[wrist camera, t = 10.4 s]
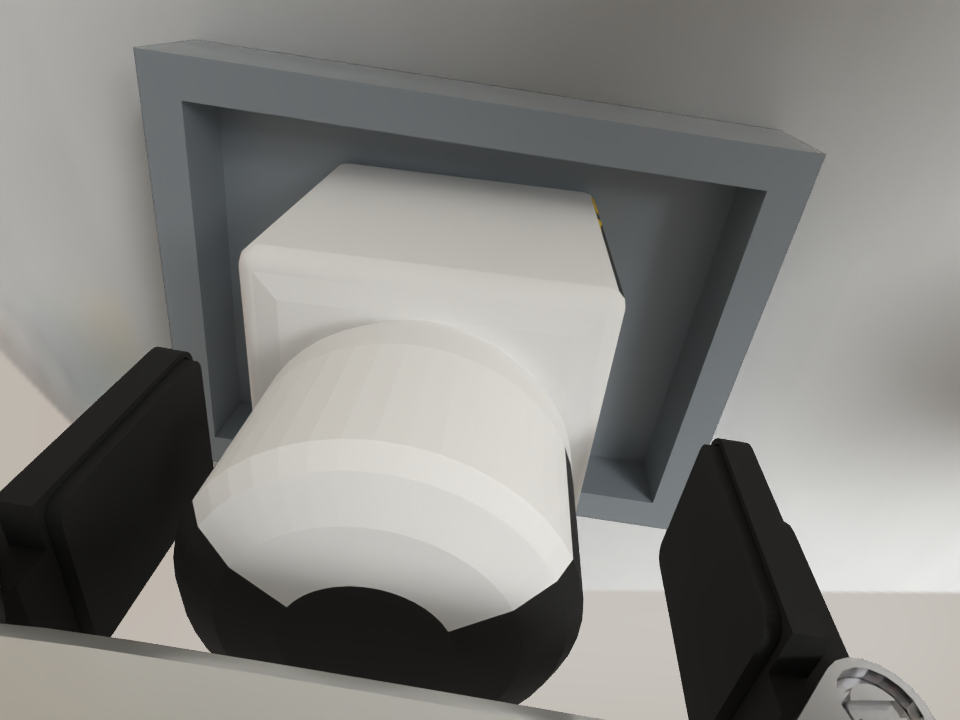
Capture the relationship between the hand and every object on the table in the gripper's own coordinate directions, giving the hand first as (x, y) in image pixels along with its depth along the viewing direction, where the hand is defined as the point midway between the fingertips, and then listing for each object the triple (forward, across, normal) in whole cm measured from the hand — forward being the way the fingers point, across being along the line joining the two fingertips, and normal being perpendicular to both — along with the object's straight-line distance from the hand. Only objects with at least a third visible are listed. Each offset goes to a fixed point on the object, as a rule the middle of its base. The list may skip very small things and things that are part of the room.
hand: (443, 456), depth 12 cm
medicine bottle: (+8, +1, +1) cm, 8 cm away
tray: (+9, +1, +1) cm, 9 cm away
